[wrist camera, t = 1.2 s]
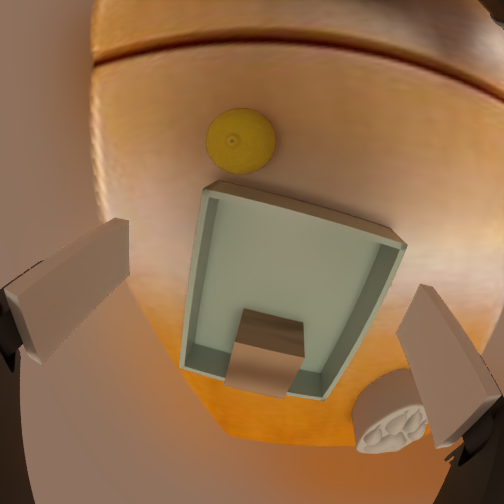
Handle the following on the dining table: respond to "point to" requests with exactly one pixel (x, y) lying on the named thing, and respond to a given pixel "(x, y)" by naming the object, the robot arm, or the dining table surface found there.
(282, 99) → the dining table surface
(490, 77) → the dining table surface
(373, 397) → the lumpy-topped squat cylinder
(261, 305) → the box
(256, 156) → the lemon
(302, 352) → the walnut block
